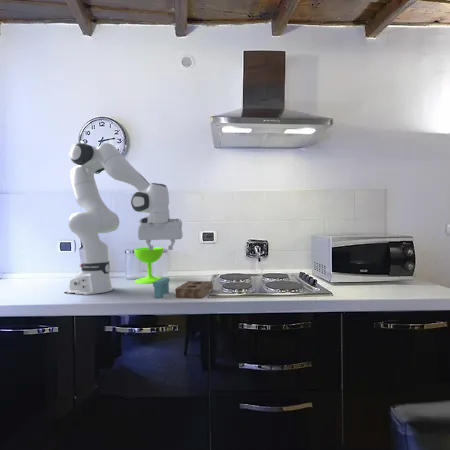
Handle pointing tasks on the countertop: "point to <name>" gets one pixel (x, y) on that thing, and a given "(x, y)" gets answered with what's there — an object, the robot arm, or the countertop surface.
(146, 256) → the wineglass
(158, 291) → the teal long block
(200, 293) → the wooden board with holes
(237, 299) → the countertop surface
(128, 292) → the countertop surface
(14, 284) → the countertop surface
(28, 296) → the countertop surface
